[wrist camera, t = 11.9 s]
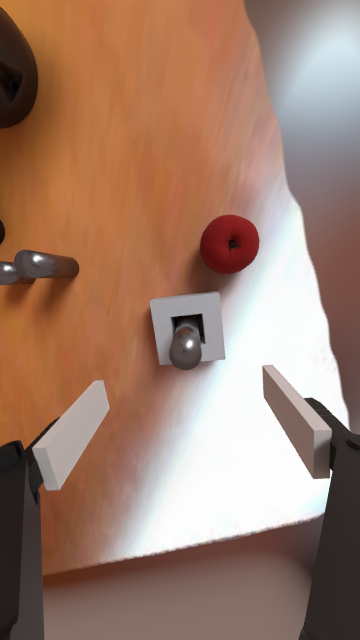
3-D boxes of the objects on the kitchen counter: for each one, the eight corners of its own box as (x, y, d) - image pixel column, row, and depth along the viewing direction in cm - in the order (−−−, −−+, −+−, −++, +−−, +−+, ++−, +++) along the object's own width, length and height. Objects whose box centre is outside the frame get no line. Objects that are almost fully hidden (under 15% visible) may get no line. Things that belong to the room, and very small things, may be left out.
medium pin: (57, 258, 38) (10, 251, 28) (76, 255, 38) (36, 247, 28) (62, 279, 39) (18, 279, 29) (81, 276, 39) (43, 276, 29)
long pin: (179, 334, 40) (171, 371, 24) (176, 315, 39) (166, 340, 23) (198, 332, 40) (203, 368, 24) (196, 313, 39) (200, 337, 23)
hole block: (154, 298, 39) (149, 301, 34) (215, 290, 38) (219, 292, 33) (163, 355, 41) (159, 365, 36) (221, 349, 40) (225, 359, 35)
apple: (253, 224, 35) (277, 203, 25) (246, 276, 37) (266, 275, 27) (201, 222, 35) (204, 200, 25) (197, 273, 37) (199, 271, 27)
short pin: (15, 264, 39) (-17, 262, 33) (33, 262, 39) (5, 259, 33) (20, 285, 40) (-9, 286, 34) (39, 282, 39) (12, 283, 34)
